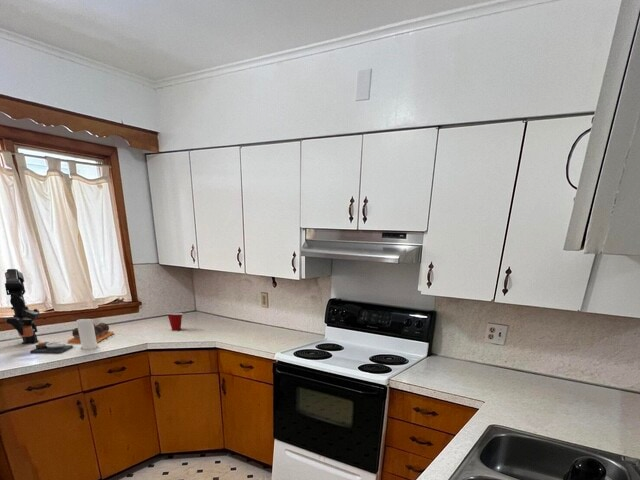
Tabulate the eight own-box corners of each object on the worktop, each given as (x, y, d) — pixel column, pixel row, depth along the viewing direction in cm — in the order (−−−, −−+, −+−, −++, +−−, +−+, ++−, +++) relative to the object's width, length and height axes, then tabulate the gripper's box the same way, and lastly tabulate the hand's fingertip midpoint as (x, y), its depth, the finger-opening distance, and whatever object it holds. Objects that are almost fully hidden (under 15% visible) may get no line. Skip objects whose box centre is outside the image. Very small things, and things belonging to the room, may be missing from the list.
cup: (91, 349, 245) (85, 321, 239) (78, 348, 247) (73, 320, 241) (100, 346, 253) (95, 319, 247) (88, 345, 254) (83, 318, 248)
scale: (30, 353, 234) (28, 348, 233) (44, 347, 247) (43, 342, 246) (60, 353, 235) (59, 348, 234) (73, 347, 248) (72, 342, 247)
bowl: (16, 337, 232) (14, 327, 230) (23, 334, 238) (21, 325, 236) (29, 337, 233) (26, 328, 231) (36, 334, 239) (34, 325, 237)
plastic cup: (187, 329, 304) (186, 312, 300) (175, 332, 296) (173, 314, 291) (177, 327, 310) (175, 310, 305) (165, 329, 301) (163, 312, 296)
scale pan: (34, 347, 235) (33, 346, 235) (44, 342, 245) (44, 341, 245) (60, 347, 236) (60, 346, 236) (69, 343, 246) (69, 342, 246)
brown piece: (88, 333, 283) (85, 320, 280) (113, 333, 285) (111, 321, 282) (68, 343, 258) (65, 329, 254) (96, 343, 259) (93, 329, 256)
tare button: (37, 346, 239) (37, 343, 238) (40, 345, 241) (39, 342, 240) (42, 346, 239) (41, 343, 238) (45, 345, 241) (44, 342, 241)
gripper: (24, 308, 221) (31, 337, 227) (43, 303, 238) (50, 330, 244) (1, 307, 220) (9, 337, 226) (23, 302, 237) (30, 330, 243)
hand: (25, 333), depth 235 cm, fingers closed on bowl, 7 cm apart
